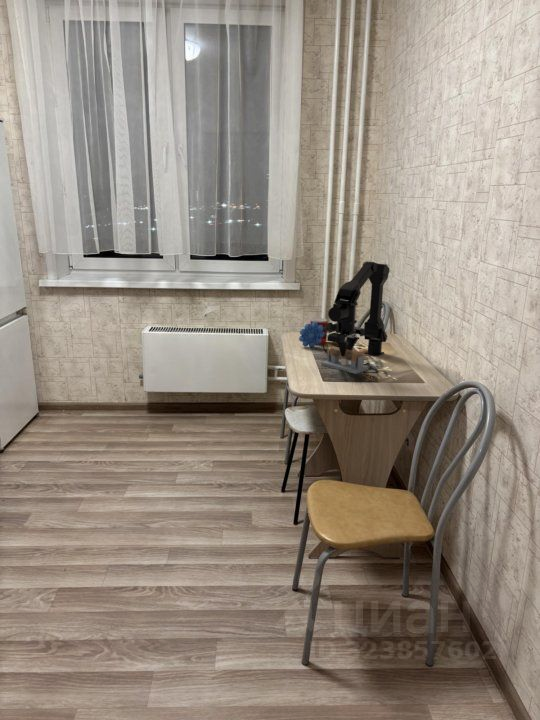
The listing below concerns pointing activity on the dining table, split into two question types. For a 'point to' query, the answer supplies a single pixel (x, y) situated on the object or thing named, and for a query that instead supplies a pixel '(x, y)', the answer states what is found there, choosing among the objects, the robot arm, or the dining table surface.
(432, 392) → the dining table surface
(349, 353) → the brown rectangular block
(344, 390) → the dining table surface
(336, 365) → the display cradle
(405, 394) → the dining table surface
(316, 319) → the canned food
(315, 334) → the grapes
